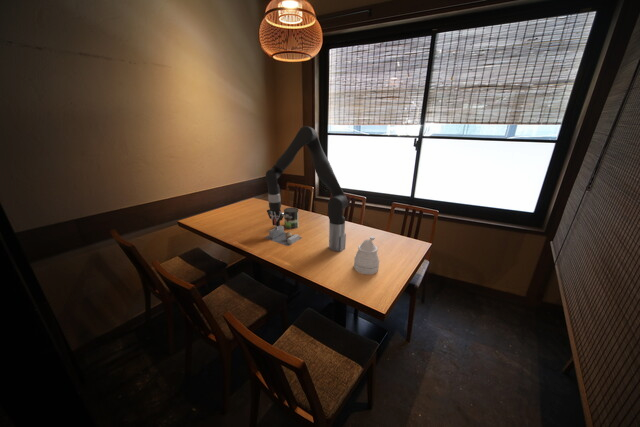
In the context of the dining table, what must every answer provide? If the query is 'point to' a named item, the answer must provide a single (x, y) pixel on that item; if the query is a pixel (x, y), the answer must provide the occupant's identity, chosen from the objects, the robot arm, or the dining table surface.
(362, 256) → the honey pot
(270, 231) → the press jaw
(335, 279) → the dining table surface
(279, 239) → the nutcracker bench
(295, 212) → the coffee can
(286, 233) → the tan ball
